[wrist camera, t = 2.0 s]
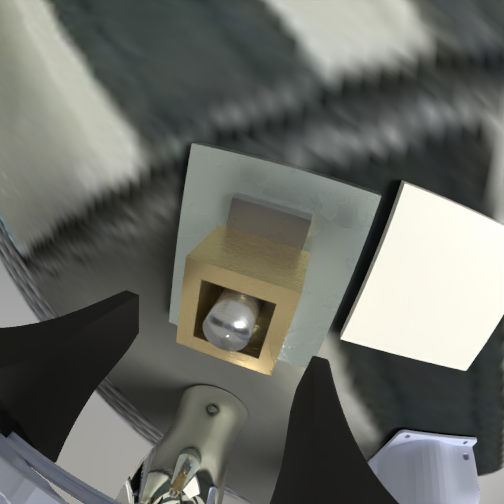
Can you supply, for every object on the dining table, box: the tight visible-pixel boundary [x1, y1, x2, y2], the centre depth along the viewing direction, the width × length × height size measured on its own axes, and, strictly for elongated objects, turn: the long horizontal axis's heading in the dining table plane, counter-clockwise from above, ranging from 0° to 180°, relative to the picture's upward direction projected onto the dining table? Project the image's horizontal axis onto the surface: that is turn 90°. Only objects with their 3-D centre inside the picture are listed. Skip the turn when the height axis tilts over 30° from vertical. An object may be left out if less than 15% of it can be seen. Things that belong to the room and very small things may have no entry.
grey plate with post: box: [169, 142, 381, 368], centre depth 16 cm, size 10×12×7 cm
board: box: [341, 180, 504, 371], centre depth 16 cm, size 10×10×1 cm
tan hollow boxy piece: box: [176, 225, 310, 375], centre depth 15 cm, size 5×5×4 cm
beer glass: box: [115, 385, 248, 504], centre depth 19 cm, size 7×7×15 cm
